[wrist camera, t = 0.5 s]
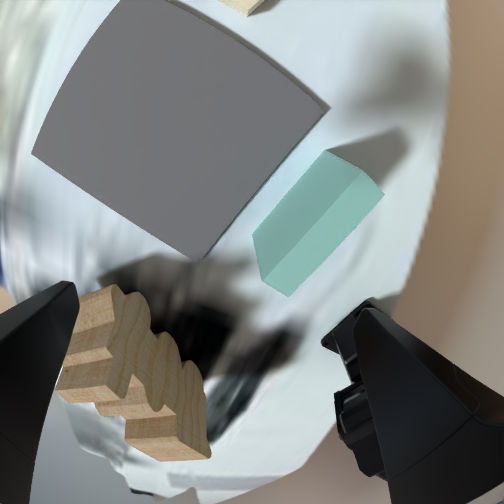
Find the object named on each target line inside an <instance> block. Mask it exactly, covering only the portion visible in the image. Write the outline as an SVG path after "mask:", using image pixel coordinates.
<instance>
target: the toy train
mask: <svg viewBox="0 0 504 504" xmlns="http://www.w3.org/2000/svg"><path fill="white" fill-rule="evenodd" d="M78 299H79V303H80V310H79V314H78V317H77V320H76V323H75V327H74V330H73V333H72V337H71V340H70V344H69V347H68V351H67V353H66V356H65V359H64V362H63V364H62V366H63V369H62V372H61V374H60V377H59V380H58V382H57V385H56V388H55V391H56V392H57V393H58V394H59V395H60V396H61V397H62V398H63V399H64V400H66V401H67V402H68V403H85V402H94V403H95V407H96V409H97V411H98V412H99V414H100V415H102V416H122V417H123V418H125V419H126V427H125V441H126V443H127V444H129V445H131V446H133V447H134V448H136V449H138V450H140V451H141V452H143V453H145V454H147V455H149V456H150V457H152V458H154V459H156V460H158V461H186V460H200V459H209V458H210V457H211V449H210V446H209V444H208V441H207V439H206V395H205V393H204V391H203V381H202V376H201V374H200V371H199V369H198V367H197V366H196V365H195V363H194V362H193V361H190V360H188V361H184V362H181V359H180V354H179V351H178V347H177V344H176V343H175V341H174V339H173V338H172V337H171V335H170V334H168V333H167V332H162V333H159V334H155V335H154V334H153V333H152V331H151V330H150V322H151V316H150V309H149V306H148V304H147V302H146V299H145V297H144V296H143V295H142V294H141V293H140V292H133V293H130V294H127V295H124V293H123V292H122V291H121V290H120V288H119V287H118V286H117V285H116V284H113V285H110V286H107V287H105V288H102V289H100V290H97V291H95V292H92V293H90V294H87V295H85V296H82V297H80V298H78Z"/></svg>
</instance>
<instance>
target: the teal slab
mask: <svg viewBox="0 0 504 504" xmlns="http://www.w3.org/2000/svg"><path fill="white" fill-rule="evenodd" d="M384 195H385V194H384V193H383V191H382V190H381V189H380V188H379V187H378V186H377V185H376V184H375V183H374V181H373V180H372V179H371V178H370V177H369V176H368V175H367V174H366V173H365V172H364V171H363V170H362V169H360V168H358V167H356V166H355V165H353V164H351V163H349V162H347V161H345V160H343V159H341V158H339V157H337V156H335V155H333V154H331V153H329V152H327V151H325V150H324V152H323V153H322V154H321V155H320V156H319V157H318V158H317V160H316V161H315V162H314V163H313V164H312V165H311V166H310V168H309V169H308V170H307V171H306V172H305V173H304V174H303V176H302V177H301V178H300V179H299V180H298V181H297V183H296V184H295V185H294V186H293V187H292V188H291V190H290V191H289V192H288V193H287V194H286V195H285V196H284V198H283V199H282V200H281V201H280V202H279V203H278V205H277V206H276V207H275V208H274V209H273V210H272V212H271V213H270V214H269V215H268V216H267V217H266V219H265V220H264V221H263V222H262V223H261V224H260V226H259V227H258V228H257V229H256V230H255V231H254V233H253V234H252V236H253V241H254V245H255V250H256V255H257V260H258V265H259V270H260V274H261V279H262V281H263V282H264V283H266V284H267V285H269V286H271V287H272V288H274V289H276V290H277V291H279V292H281V293H282V294H284V295H286V296H287V297H289V296H290V295H291V294H292V293H293V292H294V291H295V290H296V289H297V288H298V287H299V286H300V285H301V284H302V283H303V282H304V281H305V280H306V279H307V278H308V277H309V276H310V275H311V274H312V273H313V272H314V271H315V270H316V269H317V268H318V267H319V266H320V265H321V264H322V262H323V261H324V260H325V259H326V258H327V257H328V256H329V255H330V254H331V253H332V252H333V251H334V250H335V249H336V248H337V247H338V246H339V245H340V244H341V243H342V241H343V240H344V239H345V238H346V237H347V236H348V235H349V234H350V233H351V232H352V231H353V230H354V229H355V227H356V226H357V225H358V224H359V223H360V222H361V221H362V220H363V219H364V218H365V216H366V215H367V214H368V213H369V212H370V211H371V210H372V209H373V208H374V206H375V205H376V204H377V203H378V202H379V201H380V200H381V198H382V197H383V196H384Z"/></svg>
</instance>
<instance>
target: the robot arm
mask: <svg viewBox="0 0 504 504" xmlns="http://www.w3.org/2000/svg"><path fill="white" fill-rule="evenodd" d="M79 310H80V303H79V299H78V295H77V290H76V286H75V284H74V283H73V282H69V281H61V282H59V283H57V284H55V285H53V286H51V287H49V288H47V289H45V290H43V291H41V292H39V293H38V294H36V295H34V296H32V297H30V298H28V299H26V300H25V301H23V302H21V303H19V304H17V305H16V306H14V307H12V308H10V309H8V310H7V311H5V312H3V313H1V314H0V503H1V504H29V501H30V492H31V484H32V478H33V472H34V466H35V460H36V455H37V450H38V445H39V441H40V436H41V432H42V428H43V425H44V421H45V417H46V413H47V410H48V406H49V403H50V400H51V397H52V393H53V390H54V387H55V384H56V381H57V378H58V375H59V373H60V370H61V367H62V364H63V362H64V359H65V356H66V353H67V351H68V347H69V344H70V340H71V337H72V333H73V330H74V327H75V323H76V320H77V317H78V314H79ZM321 344H322V346H323V347H325V348H327V349H329V350H331V351H333V352H335V353H337V354H339V355H340V356H341V359H342V361H343V364H344V366H345V369H346V371H347V374H348V376H349V379H350V381H351V385H350V386H348V387H346V388H344V389H343V390H341V391H337V392H336V393H334V399H335V401H334V404H335V412H336V420H337V429H338V433H339V438H340V439H341V440H343V441H344V443H345V444H346V446H347V447H348V448H349V449H351V450H353V452H354V455H355V458H356V460H357V463H358V467H359V469H360V471H361V472H363V473H364V474H365V475H366V476H368V477H372V476H374V475H376V476H378V477H380V478H382V479H383V480H386V481H387V482H388V487H389V492H390V498H391V503H392V504H504V397H503V396H501V395H500V394H498V393H497V392H495V391H494V390H492V389H490V388H489V387H487V386H486V385H484V384H482V383H481V382H479V381H478V380H476V379H475V378H473V377H471V376H470V375H469V374H467V373H466V372H464V371H463V370H461V369H460V368H459V367H458V366H456V365H455V364H453V363H452V362H450V361H449V360H448V359H446V358H445V357H444V356H442V355H441V354H439V353H438V352H436V351H435V350H434V349H432V348H431V347H430V346H428V345H427V344H425V343H424V342H422V341H421V340H420V339H418V338H417V337H415V336H414V335H412V334H411V333H410V332H408V331H407V330H405V329H404V328H402V327H401V326H399V325H398V324H397V323H395V321H394V320H392V319H391V318H390V317H389V316H387V315H386V314H385V313H383V312H382V311H381V310H380V309H378V308H377V307H376V306H374V305H373V304H372V303H371V302H369V301H365V302H363V303H362V304H361V305H360V306H359V307H358V308H357V309H356V310H355V311H354V312H353V313H351V314H350V315H349V316H348V317H347V318H346V319H345V320H344V321H343V322H341V323H340V324H339V325H338V326H337V327H336V328H335V329H333V330H332V331H331V332H330V333H329V334H328V335H327V336H325V337H324V338H323V339H322V340H321Z"/></svg>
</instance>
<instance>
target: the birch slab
mask: <svg viewBox="0 0 504 504" xmlns="http://www.w3.org/2000/svg"><path fill="white" fill-rule="evenodd" d="M219 1H221V2H223V3H224V4H226V5H228V6H229V7H231V8H233V9H234V10H236V11H238V12H239V13H241V14H243V15H244V16H246V17H247V16H249V15H250V14H251V13H252V12H253V11H254V10H255V9H256V8H257V7H258V6H259V5H260V4H261V3H263V2H264V1H265V0H219Z"/></svg>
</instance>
